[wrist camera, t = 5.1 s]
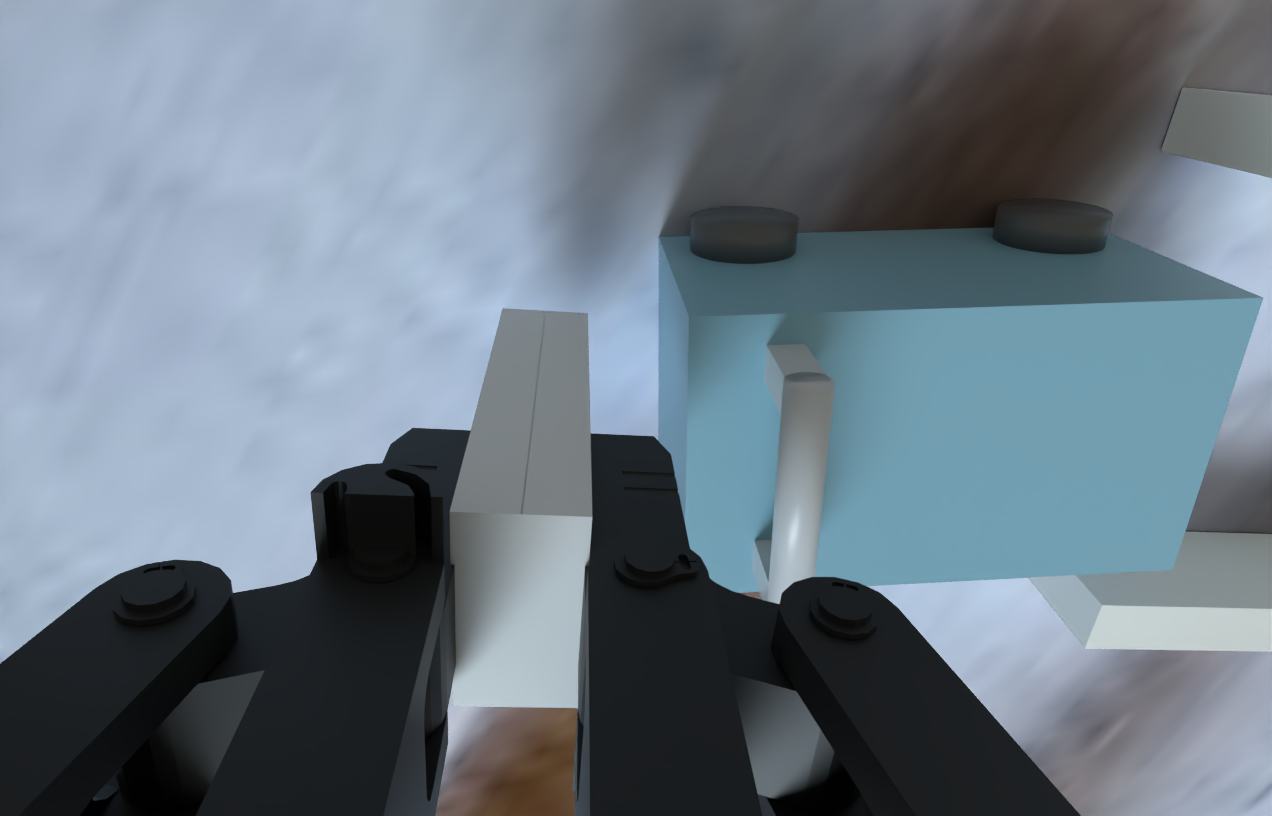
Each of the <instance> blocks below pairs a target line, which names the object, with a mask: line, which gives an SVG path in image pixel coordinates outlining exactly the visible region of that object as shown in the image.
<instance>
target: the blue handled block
mask: <svg viewBox="0 0 1272 816" xmlns="http://www.w3.org/2000/svg"><path fill="white" fill-rule="evenodd" d="M1112 216H1113V214H1112V212H1110V211H1109V210H1107V209H1104V208H1101V207H1098V206H1094V205H1090V204H1085V203H1079V202H1072V201H1064V200H1051V199H1019V200H1010V201H1005V202H1002V203H1000V204H999V205H998V208H997V214H996V219H995V225H994V228H960V229H923V230H887V231H851V232H815V233H797V231H798V217H797V216H795V215H794V214H792V213H789V212H786V211H782V210H777V209H771V208H763V207H747V206H734V207H719V208H711V209H706V210H702V211H699V212H696V213H694V214H693V215H692V216H691V233H690V236H670V237H659V442H660V443H661V444H662V445H663V446H664V447H665V448H666V449H667V451H668V452H669V453H670V454H671V457H672V462H673V467H674V472H675V477H676V482H677V487H678V493H679V497H680V501H681V506H682V511H683V516H684V521H685V526H686V531H687V536H688V541H689V546H690V549H691V550H692V551H694V552H695V553H696V554H697V555H699V556H700V557H701V559H702V560H703V562H704V564H705V566H706V568H707V570H708V573H709V577H710V579H711V580H713V581H714V582H715V583H717V584H719V585H721V586H723V587H725V588H727V589H729V590H731V591H734V592H737V593H742V592H760V594H761V597H762V600H765V601H769V602H773V603H777V604H780V600H781V595H782V592H784V591H785V590H786V589H787V588H788V587H789V586H790V585H791V584H793V583H794V582H796V581H800V580H803V579H807V578H810V577H837V578H841V579H846V580H850V581H854V582H858V583H860V584H862V585H864V586H876V585H895V584H914V583H933V582H952V581H971V580H990V579H1010V578H1029V577H1048V576H1067V575H1086V574H1105V573H1124V572H1143V571H1162V570H1173V567H1174V564H1175V561H1176V558H1177V555H1178V552H1179V549H1180V546H1181V543H1182V540H1183V537H1184V534H1185V531H1186V528H1187V525H1188V522H1189V519H1190V516H1191V513H1192V510H1193V507H1194V504H1195V501H1196V498H1197V495H1198V492H1199V489H1200V486H1201V483H1202V480H1203V477H1204V474H1205V471H1206V468H1207V465H1208V462H1209V459H1210V456H1211V453H1212V450H1213V447H1214V444H1215V441H1216V438H1217V435H1218V432H1219V429H1220V426H1221V423H1222V420H1223V417H1224V414H1225V411H1226V408H1227V405H1228V402H1229V399H1230V396H1231V393H1232V390H1233V387H1234V384H1235V381H1236V378H1237V375H1238V372H1239V369H1240V366H1241V363H1242V360H1243V357H1244V354H1245V351H1246V348H1247V345H1248V342H1249V339H1250V336H1251V333H1252V330H1253V327H1254V324H1255V321H1256V318H1257V315H1258V312H1259V309H1260V306H1261V303H1262V300H1263V298H1262V297H1260V296H1258V295H1255V294H1253V293H1250V292H1248V291H1246V290H1243V289H1241V288H1238V287H1236V286H1234V285H1231V284H1229V283H1227V282H1224V281H1222V280H1219V279H1217V278H1215V277H1212V276H1210V275H1207V274H1205V273H1203V272H1200V271H1198V270H1195V269H1193V268H1191V267H1188V266H1186V265H1184V264H1181V263H1179V262H1176V261H1174V260H1172V259H1169V258H1167V257H1164V256H1162V255H1160V254H1157V253H1155V252H1153V251H1150V250H1148V249H1145V248H1143V247H1141V246H1138V245H1136V244H1133V243H1131V242H1129V241H1126V240H1124V239H1122V238H1119V237H1117V236H1114V235H1112V234H1110V233H1108V232H1109V228H1110V224H1111V220H1112Z"/></svg>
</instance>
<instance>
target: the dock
mask: <svg viewBox="0 0 1272 816" xmlns="http://www.w3.org/2000/svg"><path fill="white" fill-rule="evenodd" d="M1161 151H1163V152H1167V153H1171V154H1175V155H1179V156H1183V157H1188V158H1192V159H1196V160H1200V161H1204V162H1208V163H1212V164H1216V165H1220V166H1225V167H1229V168H1233V169H1237V170H1241V171H1245V172H1249V173H1253V174H1258V175H1262V176H1266V177H1270V178H1272V95H1265V94H1253V93H1242V92H1230V91H1219V90H1208V89H1196V88H1185V87H1183V88H1182V91H1181V94H1180V96H1179V99H1178V102H1177V105H1176V108H1175V111H1174V114H1173V117H1172V120H1171V123H1170V126H1169V129H1168V132H1167V134H1166V137H1165V140H1164V143H1163V146H1162V149H1161ZM1029 580H1030V581H1031V582H1032V583H1033V585H1034V586H1035V587H1036V588H1037V590H1038V591H1039V592H1040V593H1041V595H1042V596H1043V597H1044V598H1045V600H1046V601H1047V602H1048V603H1049V605H1050V606H1051V607H1052V608H1053V610H1054V611H1055V612H1056V613H1057V615H1058V616H1059V617H1060V618H1061V620H1062V621H1063V622H1064V623H1065V625H1066V626H1067V627H1068V628H1069V630H1070V631H1071V632H1072V633H1073V635H1074V636H1075V637H1076V638H1077V640H1078V641H1079V642H1080V643H1081V645H1082V646H1083V647H1084V648H1085V649H1140V650H1202V651H1265V652H1272V534H1250V533H1218V532H1186V531H1185V534H1184V537H1183V540H1182V543H1181V546H1180V549H1179V552H1178V555H1177V558H1176V561H1175V564H1174V567H1173V570H1162V571H1143V572H1124V573H1105V574H1086V575H1067V576H1048V577H1029Z"/></svg>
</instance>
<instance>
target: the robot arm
mask: <svg viewBox="0 0 1272 816" xmlns="http://www.w3.org/2000/svg"><path fill="white" fill-rule="evenodd" d="M311 501H312V511H313V521H314V531H315V541H316V551H317V561H316V563H315V565H314V567H313V570H312V572H311V574H310V575H309V576H307V577H304V578H301V579H299V580H296V581H293V582H289V583H285V584H281V585H277V586H272V587H266V588H260V589H254V590H248V591H243V592H237V593H233V591H232V585H231V580H230V579H229V578H228V577H227V575H226V574H225V573H224V572H223V571H222V570H221V569H220V568H218V567H215V566H212V565H210V564H207V563H204V562H201V561H187V560H171V561H163V562H156V563H152V564H146V565H143V566H140V567H138V568H135V569H132V570H129V571H126V572H123V573H121V574H118V575H116V576H115V577H113V578H112V579H110V580H108V581H107V582H105V583H103V584H102V585H100V586H98V587H97V588H95V589H94V590H92V591H91V592H90V593H89V594H87V595H86V596H85V597H84V598H82V599H81V600H80V601H79V602H77V603H76V604H75V605H74V606H72V607H71V608H70V609H69V610H67V611H66V612H65V613H64V614H62V615H61V616H60V617H59V618H57V619H56V620H55V621H53V622H52V623H51V624H50V625H48V626H47V627H46V628H45V629H43V630H42V631H41V632H40V633H38V634H37V635H36V636H35V637H33V638H32V639H31V640H30V641H28V642H27V643H26V644H25V645H23V646H22V647H21V648H20V649H18V650H17V651H16V652H14V653H13V654H12V655H11V656H9V657H8V658H7V659H6V660H4V661H3V662H2V663H1V664H0V816H435V813H436V807H437V802H438V796H439V790H440V785H441V779H442V774H443V768H444V762H445V757H446V751H447V745H448V717H447V709H448V704H449V698H450V693H451V688H452V692H453V706H484V707H546V708H578V716H577V730H576V744H575V758H574V772H573V787H572V791H575V816H1080V814H1079V813H1078V812H1077V811H1076V810H1075V809H1074V808H1073V806H1072V805H1071V804H1070V803H1069V802H1068V801H1067V800H1066V799H1065V797H1064V796H1063V795H1062V794H1061V793H1060V792H1059V791H1058V789H1057V788H1056V787H1055V786H1054V785H1053V784H1052V783H1051V781H1050V780H1049V779H1048V778H1047V777H1046V776H1045V775H1044V774H1043V772H1042V771H1041V770H1040V769H1039V768H1038V767H1037V766H1036V764H1035V763H1034V762H1033V761H1032V760H1031V759H1030V758H1029V756H1028V755H1027V754H1026V753H1025V752H1024V751H1023V750H1022V749H1021V747H1020V746H1019V745H1018V744H1017V743H1016V742H1015V741H1014V739H1013V738H1012V737H1011V736H1010V735H1009V734H1008V733H1007V731H1006V730H1005V729H1004V728H1003V727H1002V726H1001V725H1000V724H999V722H998V721H997V720H996V719H995V718H994V717H993V716H992V714H991V713H990V712H989V711H988V710H987V709H986V708H985V706H984V705H983V704H982V703H981V702H980V701H979V700H978V699H977V697H976V696H975V695H974V694H973V693H972V692H971V691H970V689H969V688H968V687H967V686H966V685H965V684H964V683H963V681H962V680H961V679H960V678H959V677H958V676H957V675H956V674H955V672H954V671H953V670H952V669H951V668H950V667H949V666H948V664H947V663H946V662H945V661H944V660H943V659H942V658H941V657H940V655H939V654H938V653H937V652H936V651H935V650H934V649H933V647H932V646H931V645H930V644H929V643H928V642H927V641H926V639H925V638H924V637H923V636H922V635H921V634H920V633H919V632H918V630H917V629H916V628H915V627H914V626H913V625H912V624H911V622H910V621H909V620H908V619H907V618H906V617H905V616H904V614H903V613H902V612H901V611H900V610H899V609H898V608H897V607H896V606H895V605H894V604H893V603H891V602H890V601H889V600H888V599H887V598H885V597H884V596H883V595H882V594H881V593H879V592H877V591H875V590H873V589H871V588H869V587H867V586H864V585H862V584H860V583H858V582H854V581H850V580H846V579H841V578H837V577H810V578H807V579H803V580H800V581H796V582H794V583H793V584H791V585H790V586H789V587H788V588H787V589H786V590H785V591H784V592H782V595H781V600H780V604H777V603H773V602H769V601H765V600H761V599H757V598H753V597H749V596H746V595H743V594H740V593H737V592H734V591H731V590H729V589H727V588H725V587H723V586H721V585H719V584H717V583H715V582H714V581H713V580H711V579H710V577H709V573H708V570H707V568H706V566H705V564H704V562H703V560H702V559H701V557H700V556H699V555H697V554H696V553H695V552H694V551H692V550H691V549H690V546H689V541H688V536H687V531H686V526H685V521H684V516H683V511H682V506H681V501H680V497H679V493H678V487H677V482H676V477H675V472H674V467H673V462H672V457H671V454H670V453H669V452H668V451H667V449H666V448H665V447H664V446H663V445H662V444H661V443H660V442H659V441H658V440H657V439H656V438H655V437H654V436H632V435H610V434H591V433H590V389H589V346H588V313H572V312H555V311H538V310H521V309H505V308H503V309H502V313H501V317H500V321H499V325H498V328H497V332H496V336H495V340H494V344H493V348H492V351H491V355H490V359H489V363H488V367H487V371H486V374H485V378H484V382H483V386H482V390H481V393H480V397H479V401H478V405H477V409H476V413H475V416H474V420H473V424H472V428H471V431H468V430H446V429H424V428H412V429H411V430H409V431H408V432H407V433H405V434H404V435H403V436H401V437H400V438H398V439H397V440H396V441H394V442H393V443H392V444H391V445H390V447H389V449H388V452H387V454H386V456H385V459H384V461H383V463H380V464H365V465H361V466H357V467H353V468H348V469H344V470H341V471H339V472H337V473H335V474H333V475H331V476H329V477H327V478H325V479H323V480H322V481H321V482H320V483H319V484H318V485H317V486H316V487H315V488H314V489H313V490H312V491H311Z"/></svg>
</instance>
